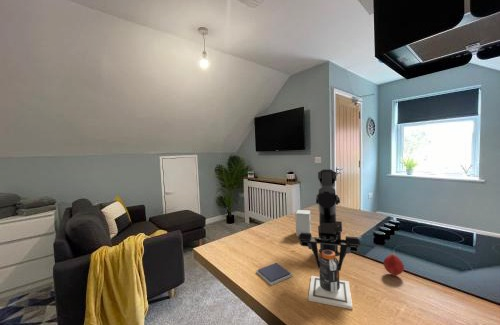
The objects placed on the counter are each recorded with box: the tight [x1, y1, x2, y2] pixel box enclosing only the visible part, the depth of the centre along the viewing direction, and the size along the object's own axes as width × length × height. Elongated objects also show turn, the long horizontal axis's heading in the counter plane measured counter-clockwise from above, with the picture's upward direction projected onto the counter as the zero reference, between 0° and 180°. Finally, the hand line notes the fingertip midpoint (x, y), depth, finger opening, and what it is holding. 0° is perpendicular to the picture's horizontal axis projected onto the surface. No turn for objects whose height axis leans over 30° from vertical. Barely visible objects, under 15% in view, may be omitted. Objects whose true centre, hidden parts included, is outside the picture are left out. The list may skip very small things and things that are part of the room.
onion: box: [383, 253, 405, 277], centre depth 73 cm, size 6×6×8 cm
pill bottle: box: [318, 250, 340, 292], centre depth 66 cm, size 6×6×11 cm
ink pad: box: [256, 262, 294, 286], centre depth 77 cm, size 10×10×1 cm
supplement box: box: [295, 209, 312, 238], centre depth 112 cm, size 7×7×13 cm
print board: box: [307, 275, 354, 310], centre depth 66 cm, size 12×12×1 cm
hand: (328, 268), depth 65 cm, fingers closed on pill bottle, 6 cm apart
